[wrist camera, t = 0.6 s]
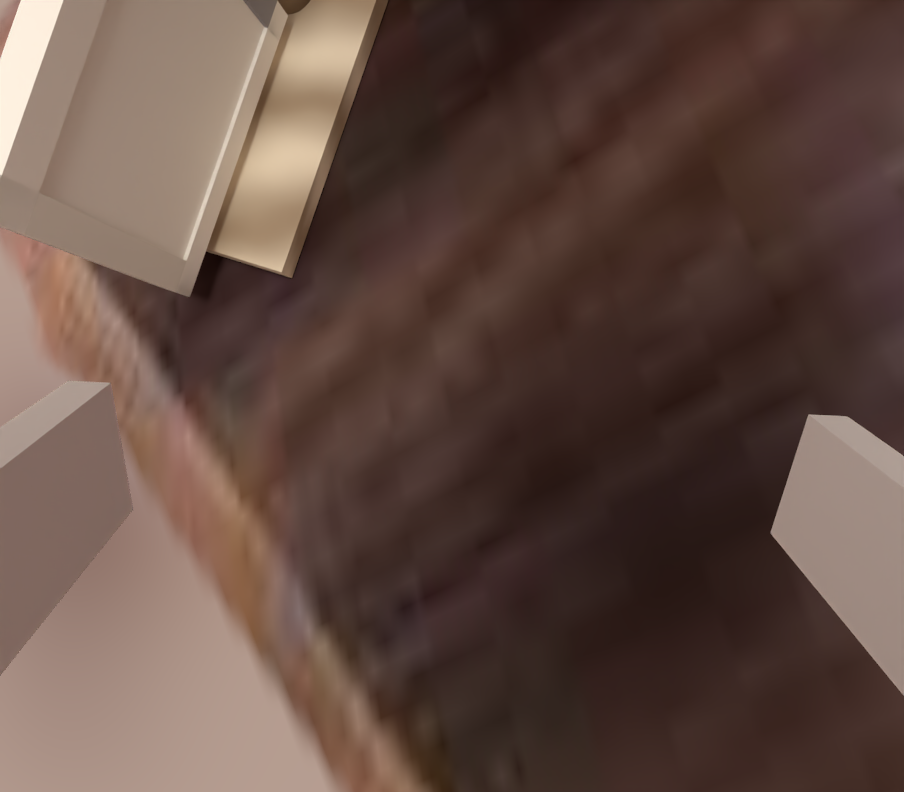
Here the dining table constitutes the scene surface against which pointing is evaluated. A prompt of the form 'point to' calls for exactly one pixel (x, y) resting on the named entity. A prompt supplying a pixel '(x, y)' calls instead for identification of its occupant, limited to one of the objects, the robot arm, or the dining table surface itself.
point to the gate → (129, 125)
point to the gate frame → (295, 131)
